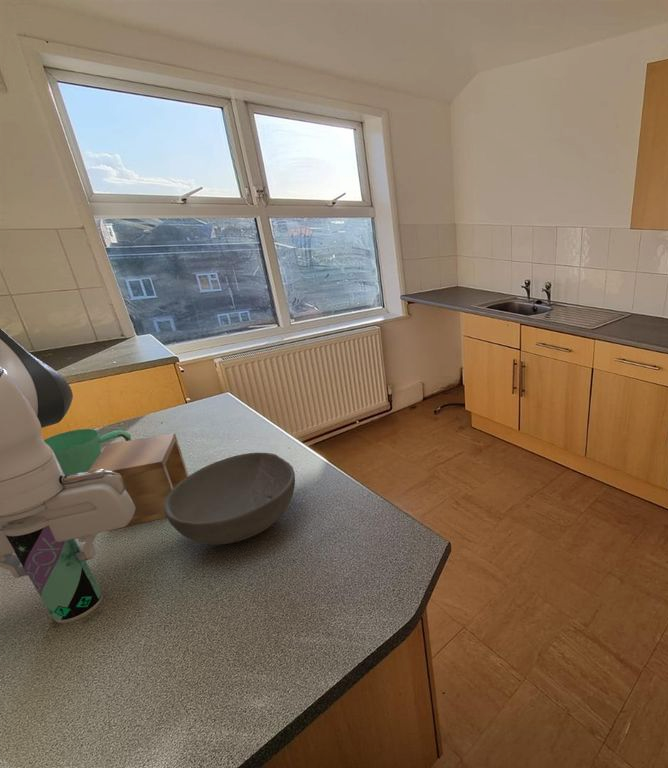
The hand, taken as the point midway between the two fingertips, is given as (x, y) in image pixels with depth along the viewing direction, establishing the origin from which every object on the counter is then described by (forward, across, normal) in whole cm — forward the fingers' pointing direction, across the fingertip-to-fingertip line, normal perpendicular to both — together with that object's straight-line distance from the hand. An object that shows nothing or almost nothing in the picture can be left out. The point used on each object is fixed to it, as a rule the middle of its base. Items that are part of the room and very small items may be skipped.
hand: (57, 565), depth 61 cm
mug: (+9, +9, -42) cm, 44 cm away
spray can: (+9, 0, 0) cm, 9 cm away
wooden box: (+9, -4, -25) cm, 27 cm away
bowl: (+9, -21, -10) cm, 25 cm away
